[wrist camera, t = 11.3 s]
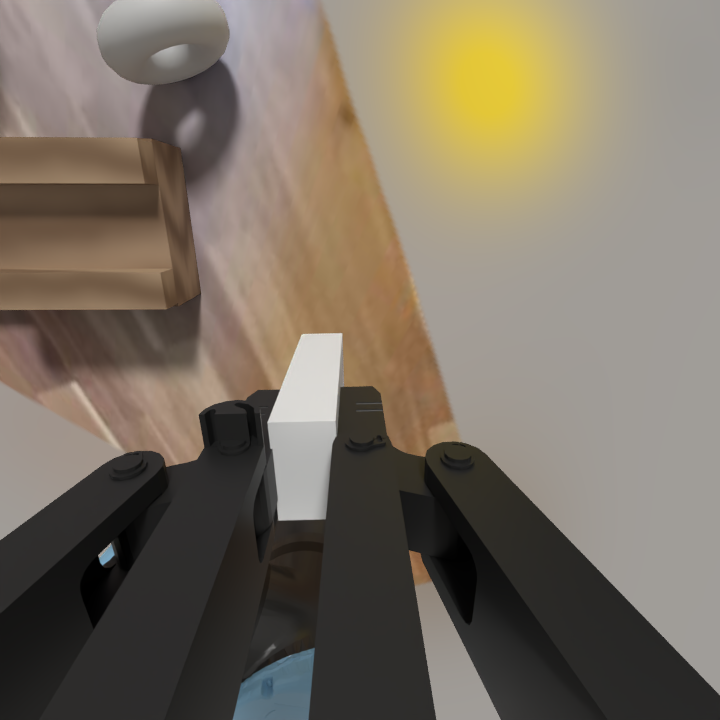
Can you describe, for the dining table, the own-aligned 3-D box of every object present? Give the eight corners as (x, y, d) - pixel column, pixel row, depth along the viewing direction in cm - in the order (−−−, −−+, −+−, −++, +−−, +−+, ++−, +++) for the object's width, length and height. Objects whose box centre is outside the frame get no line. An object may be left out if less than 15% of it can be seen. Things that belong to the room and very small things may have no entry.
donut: (150, 103, 37) (83, 68, 28) (131, 61, 36) (53, 9, 27) (249, 61, 36) (214, 10, 27) (232, 16, 35) (189, -54, 26)
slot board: (200, 293, 44) (167, 312, 36) (41, 293, 43) (-28, 313, 35) (180, 148, 38) (135, 133, 31) (0, 147, 38) (-92, 132, 30)
